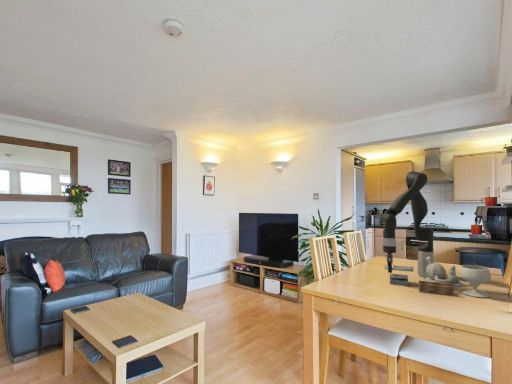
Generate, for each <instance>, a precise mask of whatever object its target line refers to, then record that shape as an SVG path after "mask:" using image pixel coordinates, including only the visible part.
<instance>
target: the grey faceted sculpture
mask: <svg viewBox="0 0 512 384" xmlns="http://www.w3.org/2000/svg"><path fill="white" fill-rule="evenodd" d="M426 259H427V261H428V263H429V265H428V266H427V268H426V272H427V275H428V277H423V278H424V279H423V280H422V281H428V282H438V283H447V284H452V286H453V287H454V288H457V289H458V288H459V289H460V288H461V287H464V284H463V282H461V279H460V278H459V275H456V272H457V271H456V265H451V266H450V268H449V269H450V270H447V269H445V267H444V266H443V265H442V264H440V263H437V262H435V261H434V262H433V261H432V259H431V257H427V258H426ZM446 270H447V271H446Z"/></svg>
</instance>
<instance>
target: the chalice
mask: <svg viewBox="0 0 512 384" xmlns="http://www.w3.org/2000/svg"><path fill="white" fill-rule="evenodd" d="M458 276H459V277H460V278H461V279H462V280H463V281H464V280H465V281H464V282H466V281H467V283H469V284H470V285H471V286H472V289H464V290H461V293H462V294H464V295H467V296H470V297H473V298H474V297H475V298H490V296H491V295H490V294H489V293H487V292H484V291H480V290H478V287H479V286H480V285H483V284H484V285H485V284H486V283H489V282H490V281H491V279H492V274H491V271H490V269H489V268H488V267H486V266H482V265H477V264H475V265H473V264H470V265H469V264H462V265H460V267H459V270H458Z"/></svg>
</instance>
